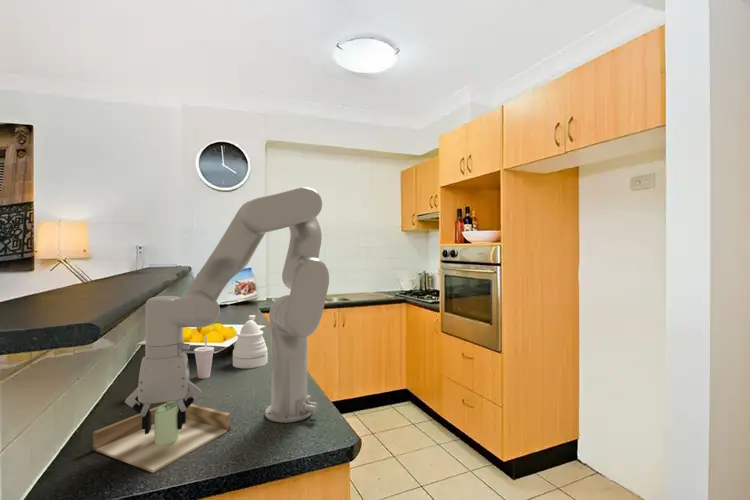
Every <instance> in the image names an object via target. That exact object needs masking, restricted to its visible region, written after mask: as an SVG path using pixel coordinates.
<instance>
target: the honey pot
mask: <svg viewBox="0 0 750 500" xmlns="http://www.w3.org/2000/svg"><path fill="white" fill-rule="evenodd" d="M256 316H257V315H254V314H253V315H252V314H250V315H248V320H247V321H246V322H245V323H244V324H243V326H242V327H241V329H240V331H238V332H237V333H236V337H237V338H236V340H235V344H234V349H233V350H232V366H233V367H234V368H237V369H238V368H239V369H252V368H253V369H254V368H260V367H263V366H265V365H267V364H268V361H269V360H268V358H269V357H268V347H267V344H266V341H265V339H264V337H263V334H264V331H263V330H261V329H260V327H259V325H258V324H257V323H256V321H254V320H255V319H256ZM266 363H267V364H266Z"/></svg>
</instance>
